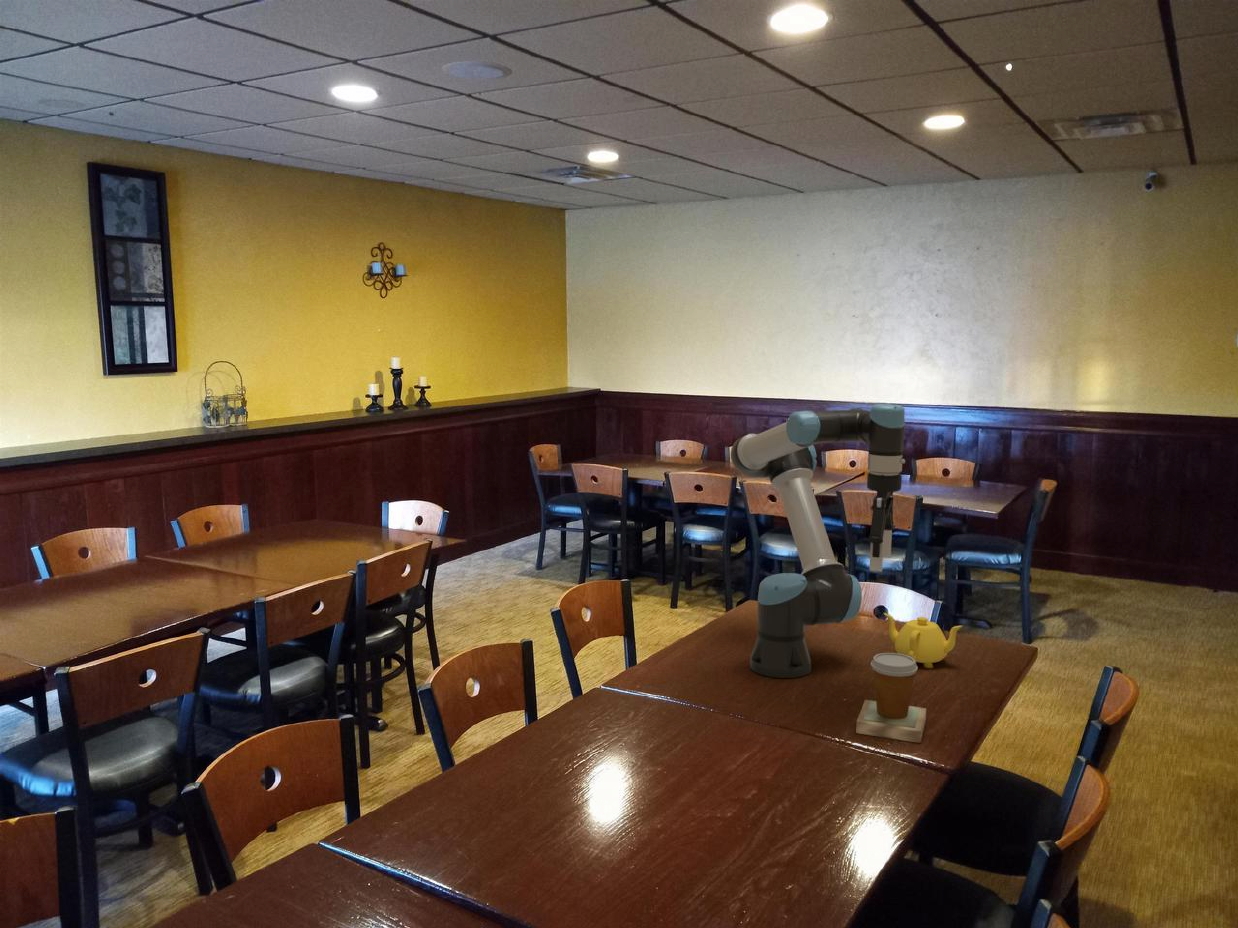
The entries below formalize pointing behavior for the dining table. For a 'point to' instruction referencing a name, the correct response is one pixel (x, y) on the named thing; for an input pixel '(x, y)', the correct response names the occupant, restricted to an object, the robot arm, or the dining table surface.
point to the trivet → (891, 723)
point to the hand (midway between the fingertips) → (880, 563)
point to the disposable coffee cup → (893, 683)
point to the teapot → (922, 640)
